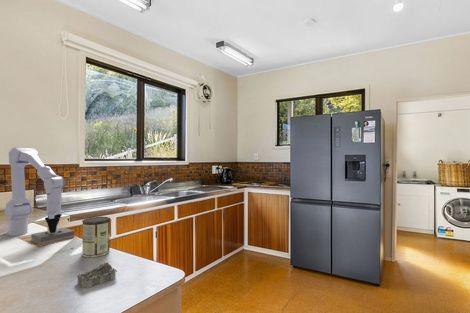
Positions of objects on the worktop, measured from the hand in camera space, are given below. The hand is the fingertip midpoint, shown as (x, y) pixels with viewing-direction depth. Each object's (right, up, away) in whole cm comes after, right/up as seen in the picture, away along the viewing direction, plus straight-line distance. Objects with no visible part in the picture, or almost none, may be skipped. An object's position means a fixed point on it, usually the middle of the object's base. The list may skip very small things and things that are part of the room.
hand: (53, 231), depth 127 cm
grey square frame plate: (0, -4, 0) cm, 4 cm away
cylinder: (0, -2, 0) cm, 2 cm away
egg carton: (+41, -5, -40) cm, 58 cm away
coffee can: (+28, -5, -15) cm, 32 cm away
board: (-4, -5, +2) cm, 6 cm away
